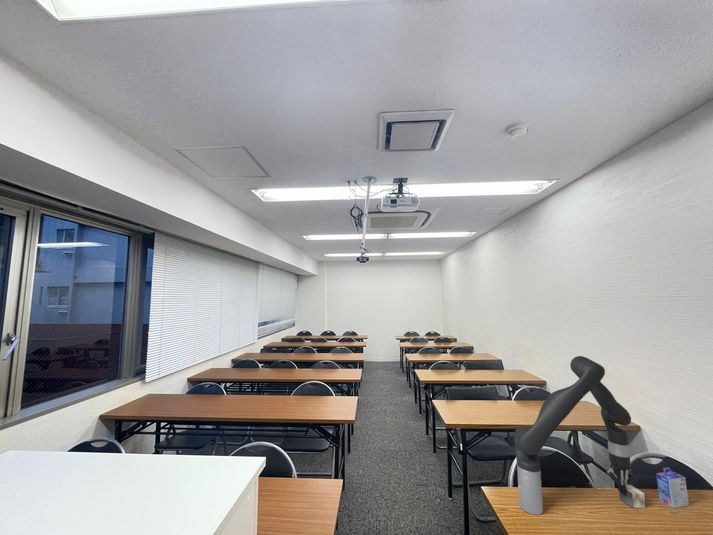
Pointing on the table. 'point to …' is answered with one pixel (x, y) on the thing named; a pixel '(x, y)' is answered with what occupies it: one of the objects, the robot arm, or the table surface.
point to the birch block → (633, 497)
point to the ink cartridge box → (672, 489)
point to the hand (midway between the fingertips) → (622, 492)
